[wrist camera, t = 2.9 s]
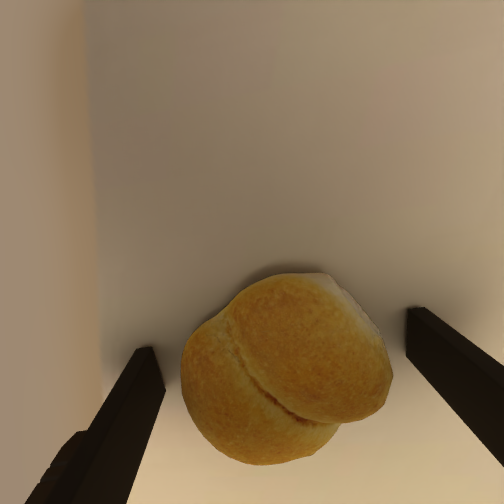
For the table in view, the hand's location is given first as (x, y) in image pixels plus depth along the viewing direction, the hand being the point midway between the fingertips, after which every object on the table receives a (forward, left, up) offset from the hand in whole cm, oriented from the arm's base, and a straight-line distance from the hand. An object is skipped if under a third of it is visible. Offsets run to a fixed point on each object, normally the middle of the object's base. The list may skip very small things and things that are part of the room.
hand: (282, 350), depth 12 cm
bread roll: (0, 0, 0) cm, 0 cm away
